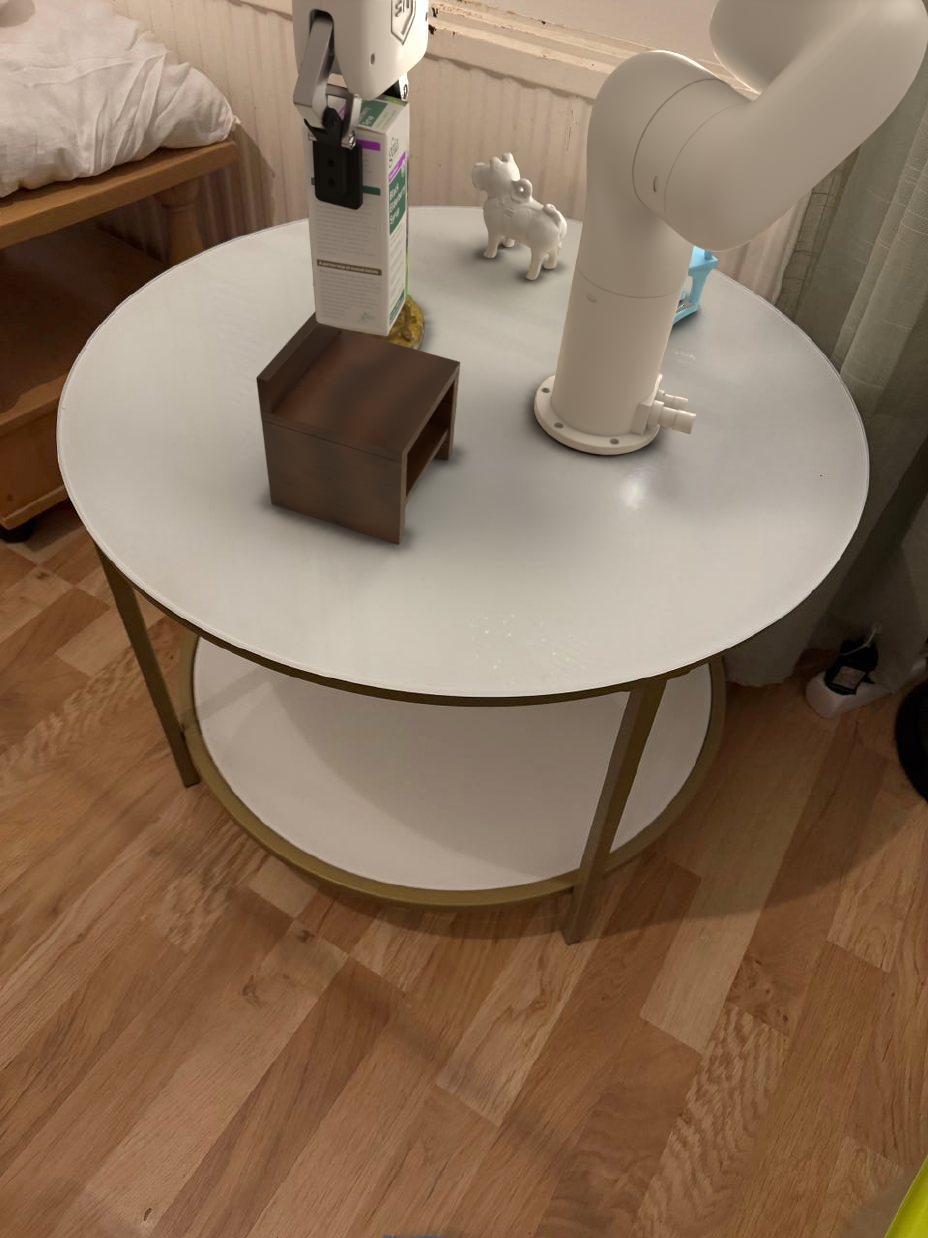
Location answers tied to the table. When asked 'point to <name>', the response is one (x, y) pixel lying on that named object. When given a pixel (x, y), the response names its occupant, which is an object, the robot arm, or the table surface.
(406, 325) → the seal
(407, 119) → the syrup box
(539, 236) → the dog figurine
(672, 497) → the table surface
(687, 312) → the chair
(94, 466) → the table surface
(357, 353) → the shelf
